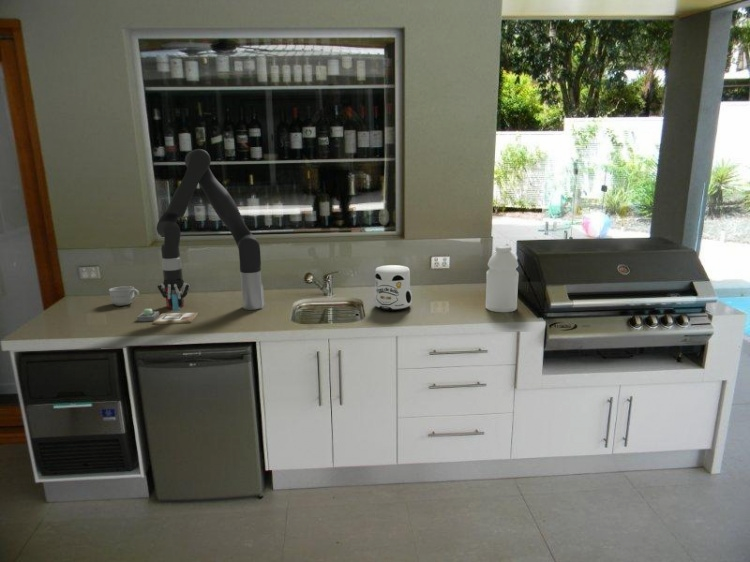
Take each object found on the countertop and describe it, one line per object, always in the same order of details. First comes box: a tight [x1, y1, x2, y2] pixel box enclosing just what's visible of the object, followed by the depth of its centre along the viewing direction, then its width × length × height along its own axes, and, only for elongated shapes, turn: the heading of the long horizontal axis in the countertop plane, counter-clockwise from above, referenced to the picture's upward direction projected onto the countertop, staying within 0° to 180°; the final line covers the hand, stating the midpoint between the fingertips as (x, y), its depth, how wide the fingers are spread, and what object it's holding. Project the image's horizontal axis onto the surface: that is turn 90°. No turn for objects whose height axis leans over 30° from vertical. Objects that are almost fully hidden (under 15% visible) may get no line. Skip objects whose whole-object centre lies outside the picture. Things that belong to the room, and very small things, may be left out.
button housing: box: [136, 310, 161, 322], centre depth 244 cm, size 7×7×2 cm
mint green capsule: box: [142, 308, 154, 316], centre depth 244 cm, size 4×4×3 cm
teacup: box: [108, 285, 140, 306], centre depth 265 cm, size 14×11×8 cm
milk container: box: [373, 264, 413, 311], centre depth 251 cm, size 17×17×18 cm
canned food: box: [164, 286, 185, 310], centre depth 260 cm, size 8×8×11 cm
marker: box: [171, 290, 181, 312], centre depth 239 cm, size 3×3×9 cm
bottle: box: [484, 244, 520, 313], centre depth 246 cm, size 14×14×28 cm
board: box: [152, 312, 199, 325], centre depth 243 cm, size 16×12×1 cm
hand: (176, 306), depth 240 cm, fingers closed on marker, 3 cm apart
